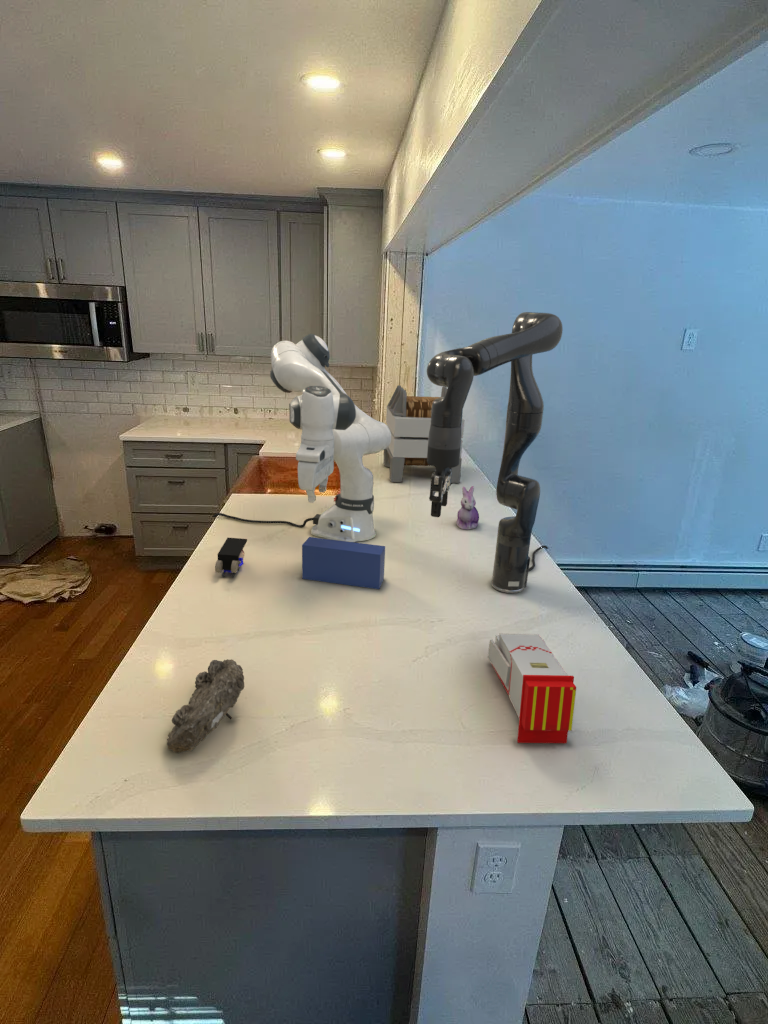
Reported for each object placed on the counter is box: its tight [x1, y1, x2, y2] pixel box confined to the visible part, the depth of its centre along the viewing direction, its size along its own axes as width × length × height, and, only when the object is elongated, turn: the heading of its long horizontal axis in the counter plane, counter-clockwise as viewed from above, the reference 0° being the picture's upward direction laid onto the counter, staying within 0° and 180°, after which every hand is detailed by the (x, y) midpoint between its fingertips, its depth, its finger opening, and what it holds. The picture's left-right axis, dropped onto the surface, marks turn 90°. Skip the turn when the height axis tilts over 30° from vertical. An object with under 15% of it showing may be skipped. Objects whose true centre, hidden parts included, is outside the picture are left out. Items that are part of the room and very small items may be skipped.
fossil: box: [166, 658, 245, 754], centre depth 106 cm, size 22×10×15 cm
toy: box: [487, 632, 577, 744], centre depth 116 cm, size 12×13×30 cm
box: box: [301, 536, 386, 590], centre depth 163 cm, size 23×6×11 cm, turn 78°
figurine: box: [456, 485, 480, 530], centre depth 208 cm, size 9×10×15 cm
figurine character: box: [214, 537, 248, 578], centre depth 166 cm, size 7×8×15 cm
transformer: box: [383, 384, 465, 484], centre depth 268 cm, size 34×33×41 cm
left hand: (317, 496), depth 158 cm, fingers open, 8 cm apart
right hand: (438, 510), depth 136 cm, fingers open, 8 cm apart
